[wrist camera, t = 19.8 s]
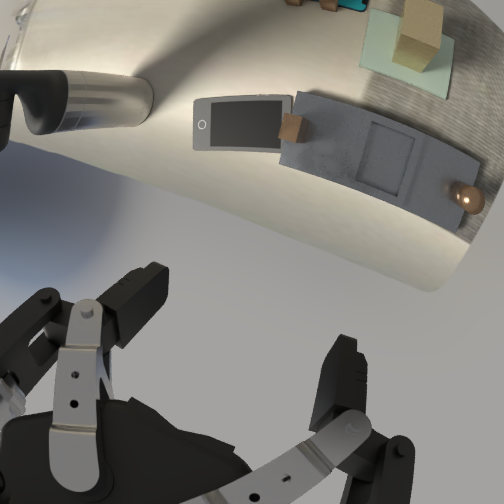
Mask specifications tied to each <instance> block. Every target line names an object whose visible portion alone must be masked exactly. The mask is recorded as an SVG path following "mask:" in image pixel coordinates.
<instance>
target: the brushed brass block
mask: <svg viewBox="0 0 504 504" xmlns="http://www.w3.org/2000/svg"><path fill="white" fill-rule="evenodd" d="M442 22H443V6H441V5H438V4H436V3H434V2H431V1H429V0H405V1H404V5H403V9H402V13H401V17H400V20H399V24H398V29H397V35H396V41H395V46H394V51H393V57H392V62H393V63H396V64H399V65H401V66H404V67H407V68H409V69H412V70H414V71H417V72H419V73H421V72H422V71H423V69H424V68H425V67H426V66H427V64H428V63H429V62H430V61H431V60H432V58H433V57H434V56H435V55H436V53H437V52H438V51H439V50H440V43H441V33H442Z"/></svg>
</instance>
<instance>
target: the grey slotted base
mask: <svg viewBox="0 0 504 504" xmlns="http://www.w3.org/2000/svg"><path fill="white" fill-rule="evenodd" d="M278 138H280V139H284V140H285V141H284V145H283V149H282V153H281V157H280V161H279V164H281V165H284V166H287V167H290V168H294V169H297V170H300V171H303V172H306V173H309V174H312V175H315V176H318V177H321V178H324V179H327V180H330V181H333V182H336V183H338V184H341V185H344V186H347V187H349V188H352V189H355V190H357V191H360V192H363V193H365V194H368V195H370V196H373V197H375V198H378V199H380V200H383V201H385V202H388V203H390V204H392V205H395V206H397V207H400V208H402V209H404V210H406V211H409V212H411V213H413V214H416V215H418V216H420V217H422V218H424V219H427V220H429V221H431V222H433V223H435V224H437V225H439V226H441V227H443V228H445V229H447V230H449V231H451V232H453V233H456V231H457V229H458V226H459V224H460V221H461V219H462V216H463V214H464V211H467V212H468V213H470V214H473V215H476V214H479V213H480V212H481V211H482V210H483V208H484V205H485V197H484V194H483V193H482V191H481V190H480V189H478V188H476V187H473V185H474V182H475V179H476V176H477V173H478V169H479V166H480V162H478V161H477V160H475V159H473V158H471V157H470V156H468V155H466V154H464V153H462V152H461V151H459V150H457V149H455V148H453V147H451V146H449V145H447V144H445V143H443V142H441V141H439V140H437V139H435V138H433V137H431V136H429V135H427V134H425V133H423V132H420V131H418V130H416V129H414V128H411V127H409V126H407V125H404V124H402V123H399V122H397V121H394V120H392V119H389V118H387V117H384V116H381V115H378V114H376V113H373V112H370V111H367V110H364V109H361V108H358V107H355V106H352V105H349V104H346V103H342V102H339V101H336V100H332V99H328V98H325V97H321V96H317V95H313V94H309V93H305V92H301V91H297V95H296V99H295V103H294V107H293V110H292V114H289V113H284V117H283V121H282V125H281V129H280V132H279V136H278Z"/></svg>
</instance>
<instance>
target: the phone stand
mask: <svg viewBox="0 0 504 504" xmlns="http://www.w3.org/2000/svg"><path fill="white" fill-rule="evenodd" d="M302 1H303V0H285V2H286V3H287V5H295V6H301V4H302ZM338 1H339V0H319V2H320V5H321V8H322V9H323V10H329V11H334V12H337V7H338Z"/></svg>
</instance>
